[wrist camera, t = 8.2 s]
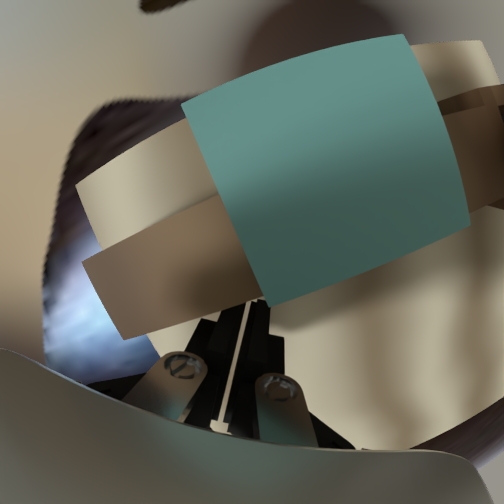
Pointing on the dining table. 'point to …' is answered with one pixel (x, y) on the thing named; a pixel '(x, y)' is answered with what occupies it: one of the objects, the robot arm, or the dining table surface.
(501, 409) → the dining table surface
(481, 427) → the dining table surface
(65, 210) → the dining table surface
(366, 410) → the board
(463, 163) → the link
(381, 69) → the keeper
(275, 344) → the robot arm
